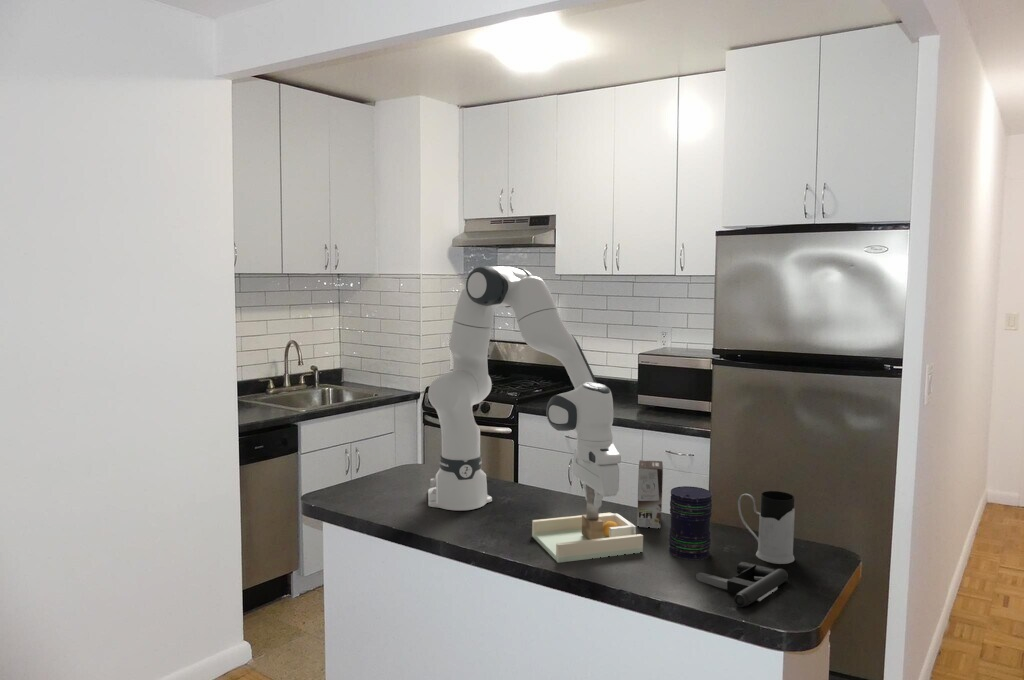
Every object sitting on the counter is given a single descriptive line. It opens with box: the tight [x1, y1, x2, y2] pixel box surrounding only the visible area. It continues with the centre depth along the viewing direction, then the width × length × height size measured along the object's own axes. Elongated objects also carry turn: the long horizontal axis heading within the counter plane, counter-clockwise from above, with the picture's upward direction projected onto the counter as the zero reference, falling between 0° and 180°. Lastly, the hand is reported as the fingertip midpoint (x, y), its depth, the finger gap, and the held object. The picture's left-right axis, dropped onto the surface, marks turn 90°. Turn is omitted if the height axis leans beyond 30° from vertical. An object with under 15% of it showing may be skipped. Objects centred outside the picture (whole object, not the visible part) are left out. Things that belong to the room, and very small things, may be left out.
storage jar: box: [668, 485, 713, 561], centre depth 181 cm, size 10×10×15 cm
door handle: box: [695, 561, 789, 608], centre depth 163 cm, size 3×20×16 cm
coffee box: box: [636, 459, 664, 529], centre depth 202 cm, size 9×6×16 cm
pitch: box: [531, 512, 644, 564], centre depth 186 cm, size 18×22×5 cm
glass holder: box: [737, 490, 796, 565], centre depth 181 cm, size 9×14×15 cm, turn 48°
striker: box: [581, 486, 603, 540], centre depth 186 cm, size 6×3×13 cm, turn 18°
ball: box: [603, 521, 618, 537], centre depth 188 cm, size 4×4×4 cm
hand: (593, 503), depth 186 cm, fingers closed on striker, 3 cm apart
